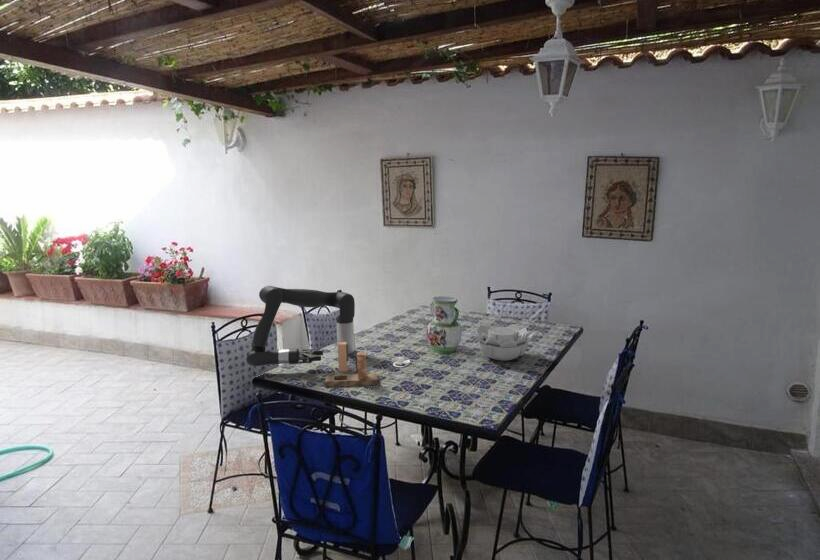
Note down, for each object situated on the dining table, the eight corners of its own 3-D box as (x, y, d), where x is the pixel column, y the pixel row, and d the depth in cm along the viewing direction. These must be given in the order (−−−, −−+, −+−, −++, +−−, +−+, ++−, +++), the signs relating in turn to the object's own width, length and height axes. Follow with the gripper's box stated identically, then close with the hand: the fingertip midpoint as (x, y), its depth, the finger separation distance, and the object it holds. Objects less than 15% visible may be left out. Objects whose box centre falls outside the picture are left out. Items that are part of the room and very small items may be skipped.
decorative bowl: (540, 354, 278) (541, 327, 275) (519, 371, 254) (520, 341, 251) (488, 345, 295) (489, 319, 292) (464, 360, 270) (464, 332, 268)
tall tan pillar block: (339, 371, 257) (337, 344, 255) (339, 368, 261) (338, 342, 259) (348, 371, 257) (347, 344, 255) (348, 368, 261) (347, 341, 259)
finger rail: (325, 386, 238) (323, 357, 236) (326, 380, 246) (325, 352, 244) (377, 384, 240) (376, 355, 237) (377, 378, 247) (376, 350, 245)
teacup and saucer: (411, 363, 269) (411, 355, 268) (407, 368, 262) (407, 360, 261) (395, 361, 271) (395, 354, 271) (390, 367, 264) (390, 359, 263)
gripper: (286, 354, 249) (320, 352, 250) (291, 344, 263) (323, 343, 264) (286, 368, 250) (320, 367, 251) (291, 359, 264) (324, 358, 265)
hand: (322, 355), depth 257 cm, fingers open, 8 cm apart
